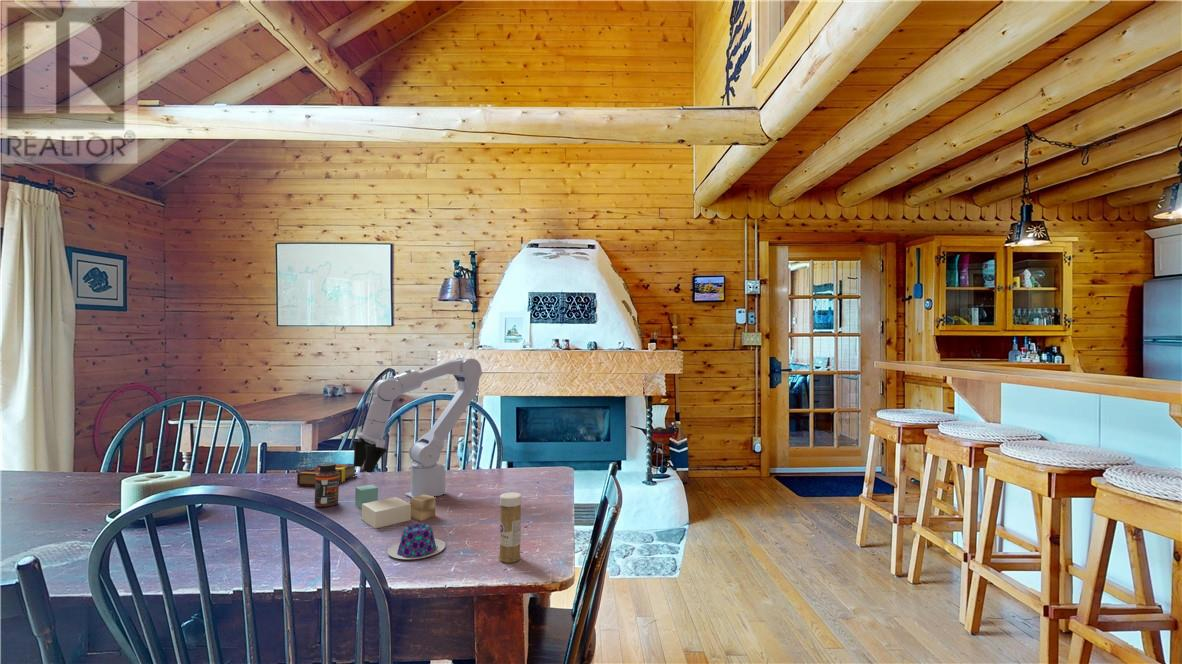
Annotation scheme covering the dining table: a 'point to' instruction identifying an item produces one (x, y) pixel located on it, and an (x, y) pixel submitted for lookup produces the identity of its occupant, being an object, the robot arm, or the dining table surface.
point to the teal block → (366, 495)
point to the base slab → (386, 512)
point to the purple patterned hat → (416, 543)
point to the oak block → (422, 507)
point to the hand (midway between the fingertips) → (362, 469)
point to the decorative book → (310, 474)
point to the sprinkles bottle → (510, 527)
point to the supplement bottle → (327, 485)
